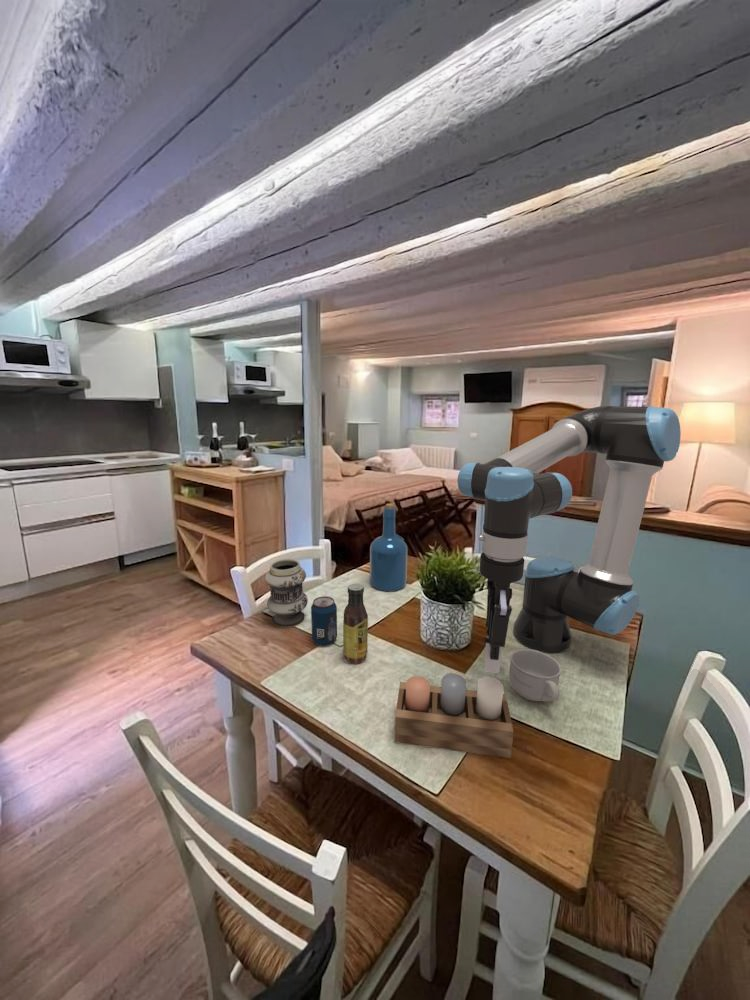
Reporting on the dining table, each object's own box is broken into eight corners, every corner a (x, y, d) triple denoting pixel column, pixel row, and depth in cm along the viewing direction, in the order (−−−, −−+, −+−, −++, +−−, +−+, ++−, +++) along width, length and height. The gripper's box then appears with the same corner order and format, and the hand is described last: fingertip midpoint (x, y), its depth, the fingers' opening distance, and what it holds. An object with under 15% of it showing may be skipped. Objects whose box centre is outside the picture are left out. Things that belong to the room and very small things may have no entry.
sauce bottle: (361, 667, 102) (362, 595, 97) (339, 662, 104) (338, 591, 99) (371, 652, 108) (371, 584, 103) (349, 647, 110) (349, 580, 105)
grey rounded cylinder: (463, 699, 84) (465, 674, 82) (465, 717, 79) (467, 691, 77) (440, 697, 84) (441, 672, 83) (440, 714, 80) (441, 688, 78)
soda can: (317, 632, 117) (315, 594, 114) (340, 635, 116) (339, 596, 113) (308, 646, 110) (307, 606, 107) (332, 649, 109) (332, 609, 106)
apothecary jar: (280, 606, 131) (277, 554, 127) (314, 612, 128) (313, 558, 123) (260, 626, 120) (256, 569, 115) (297, 632, 117) (295, 574, 112)
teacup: (502, 675, 99) (504, 646, 97) (546, 676, 99) (550, 647, 97) (519, 719, 86) (523, 686, 84) (571, 720, 86) (576, 688, 84)
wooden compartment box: (503, 718, 86) (505, 694, 85) (510, 758, 76) (513, 731, 75) (399, 705, 89) (400, 681, 88) (394, 742, 80) (395, 716, 78)
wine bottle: (394, 596, 138) (396, 511, 131) (362, 586, 145) (362, 505, 138) (413, 581, 149) (416, 502, 142) (382, 573, 156) (383, 497, 149)
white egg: (499, 704, 82) (501, 678, 81) (502, 722, 78) (505, 695, 76) (474, 701, 83) (476, 675, 82) (476, 719, 79) (478, 692, 77)
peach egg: (429, 702, 85) (430, 677, 84) (428, 719, 80) (429, 693, 79) (406, 699, 86) (407, 674, 84) (404, 716, 81) (405, 691, 80)
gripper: (477, 541, 79) (469, 647, 85) (484, 567, 67) (474, 690, 72) (517, 543, 78) (506, 651, 84) (532, 571, 66) (518, 695, 71)
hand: (491, 669), depth 78 cm, fingers closed
